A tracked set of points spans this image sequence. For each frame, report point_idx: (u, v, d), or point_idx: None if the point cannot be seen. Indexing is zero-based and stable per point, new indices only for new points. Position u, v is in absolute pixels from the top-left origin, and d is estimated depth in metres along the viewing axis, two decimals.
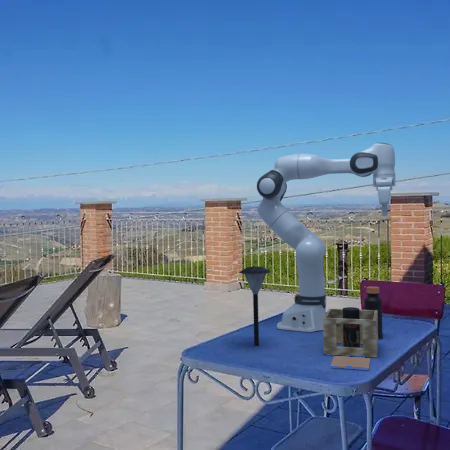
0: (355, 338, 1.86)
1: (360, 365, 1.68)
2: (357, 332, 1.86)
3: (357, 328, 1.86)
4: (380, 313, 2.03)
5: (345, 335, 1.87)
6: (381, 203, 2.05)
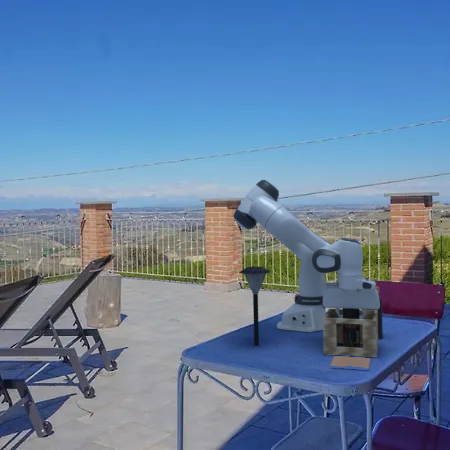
0: (355, 338, 1.86)
1: (360, 365, 1.68)
2: (357, 332, 1.86)
3: (357, 328, 1.86)
4: (380, 313, 2.03)
5: (345, 335, 1.87)
6: (378, 308, 1.85)
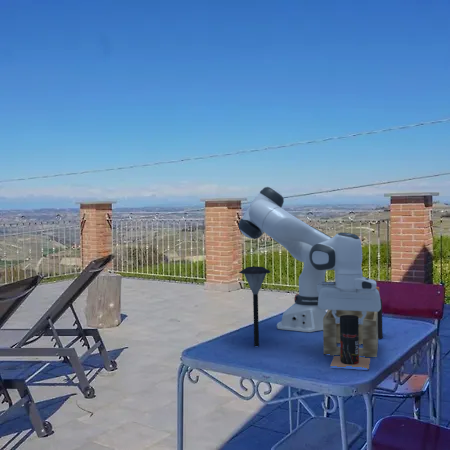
0: (354, 349, 1.69)
1: (360, 365, 1.68)
2: (356, 343, 1.69)
3: (356, 338, 1.69)
4: (380, 313, 2.03)
5: (343, 346, 1.70)
6: (379, 310, 1.67)
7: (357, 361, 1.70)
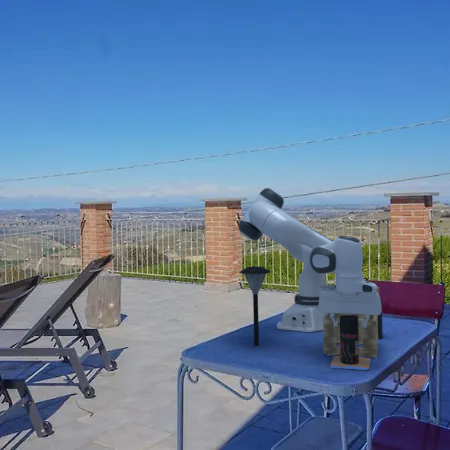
0: (354, 349, 1.69)
1: (360, 365, 1.68)
2: (356, 343, 1.69)
3: (356, 338, 1.69)
4: (380, 313, 2.03)
5: (343, 346, 1.70)
6: None
7: (357, 361, 1.70)
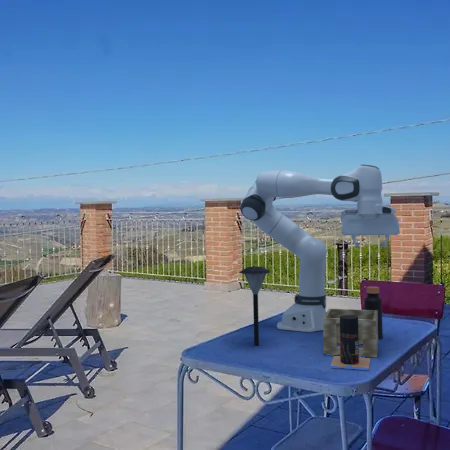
0: (354, 349, 1.69)
1: (360, 365, 1.68)
2: (356, 343, 1.69)
3: (356, 338, 1.69)
4: (380, 313, 2.03)
5: (343, 346, 1.70)
6: (398, 233, 1.84)
7: (357, 361, 1.70)
